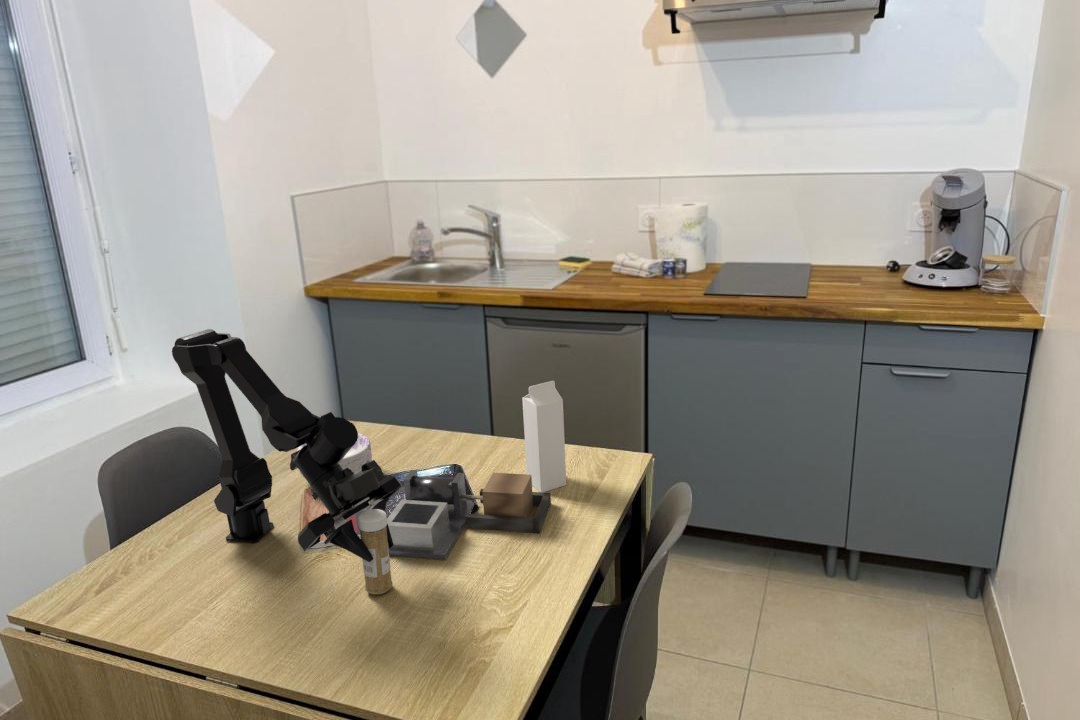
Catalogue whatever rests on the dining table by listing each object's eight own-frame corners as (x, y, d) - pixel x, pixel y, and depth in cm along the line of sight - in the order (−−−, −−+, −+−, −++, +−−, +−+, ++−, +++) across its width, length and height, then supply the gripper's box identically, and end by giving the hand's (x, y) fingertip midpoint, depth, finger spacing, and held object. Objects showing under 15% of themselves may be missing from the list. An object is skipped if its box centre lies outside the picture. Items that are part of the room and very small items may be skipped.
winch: (370, 553, 141) (365, 517, 138) (409, 500, 158) (405, 467, 156) (472, 562, 137) (468, 524, 134) (500, 506, 154) (497, 472, 152)
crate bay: (466, 528, 147) (463, 494, 145) (482, 499, 157) (479, 467, 155) (539, 533, 144) (537, 499, 142) (550, 503, 154) (549, 471, 152)
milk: (566, 485, 161) (563, 384, 154) (540, 493, 158) (536, 391, 151) (551, 473, 166) (547, 375, 159) (526, 481, 163) (521, 382, 156)
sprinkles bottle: (397, 589, 130) (391, 515, 126) (371, 599, 127) (363, 524, 123) (385, 577, 133) (379, 505, 129) (360, 586, 131) (352, 513, 127)
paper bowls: (389, 471, 171) (384, 437, 168) (337, 502, 159) (332, 466, 156) (339, 456, 179) (334, 424, 176) (286, 485, 167) (280, 451, 164)
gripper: (299, 477, 118) (360, 563, 115) (388, 431, 132) (443, 506, 130) (273, 510, 124) (330, 591, 122) (360, 462, 139) (412, 534, 137)
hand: (381, 553), depth 128 cm, fingers closed on sprinkles bottle, 4 cm apart
